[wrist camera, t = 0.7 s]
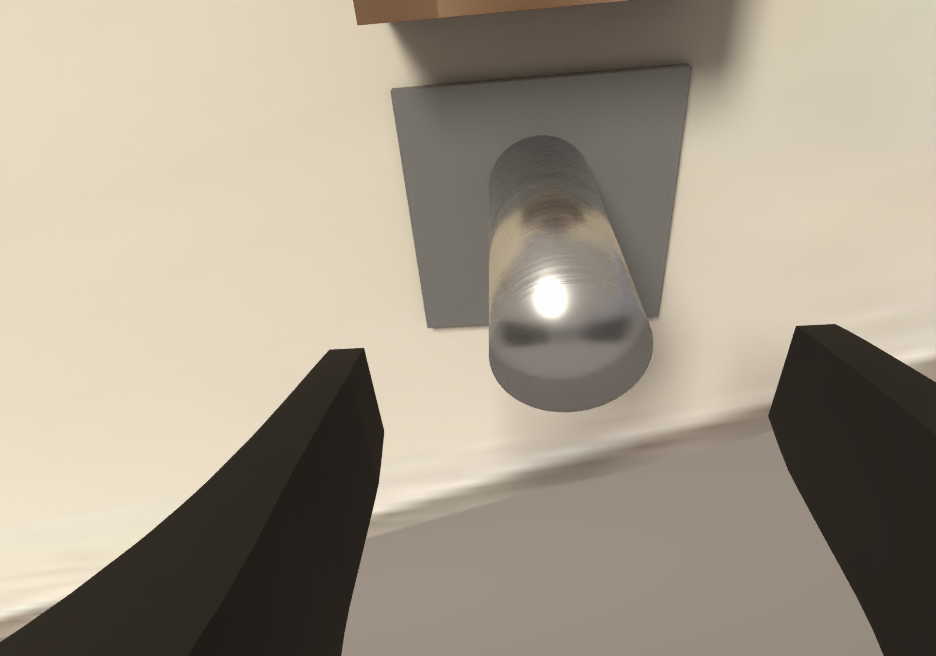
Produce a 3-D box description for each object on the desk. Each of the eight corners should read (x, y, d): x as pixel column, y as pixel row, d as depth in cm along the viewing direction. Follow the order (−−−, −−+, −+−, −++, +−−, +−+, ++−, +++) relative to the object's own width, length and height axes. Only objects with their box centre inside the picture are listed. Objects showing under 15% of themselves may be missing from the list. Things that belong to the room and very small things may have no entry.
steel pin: (592, 131, 16) (662, 279, 10) (588, 228, 18) (644, 409, 11) (485, 139, 16) (483, 289, 10) (492, 234, 18) (493, 415, 12)
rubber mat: (688, 64, 15) (691, 66, 15) (656, 311, 20) (658, 316, 20) (392, 88, 16) (390, 91, 16) (428, 323, 21) (427, 328, 20)
